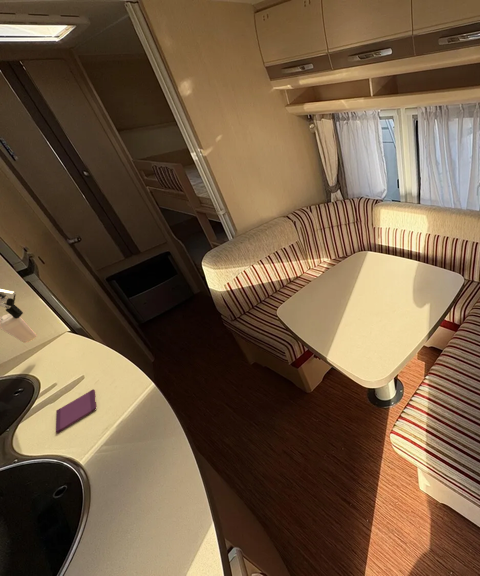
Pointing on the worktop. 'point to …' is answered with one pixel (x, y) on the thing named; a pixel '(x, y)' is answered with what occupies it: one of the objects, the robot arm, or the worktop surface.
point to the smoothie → (17, 328)
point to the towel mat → (75, 410)
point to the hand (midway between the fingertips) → (6, 319)
